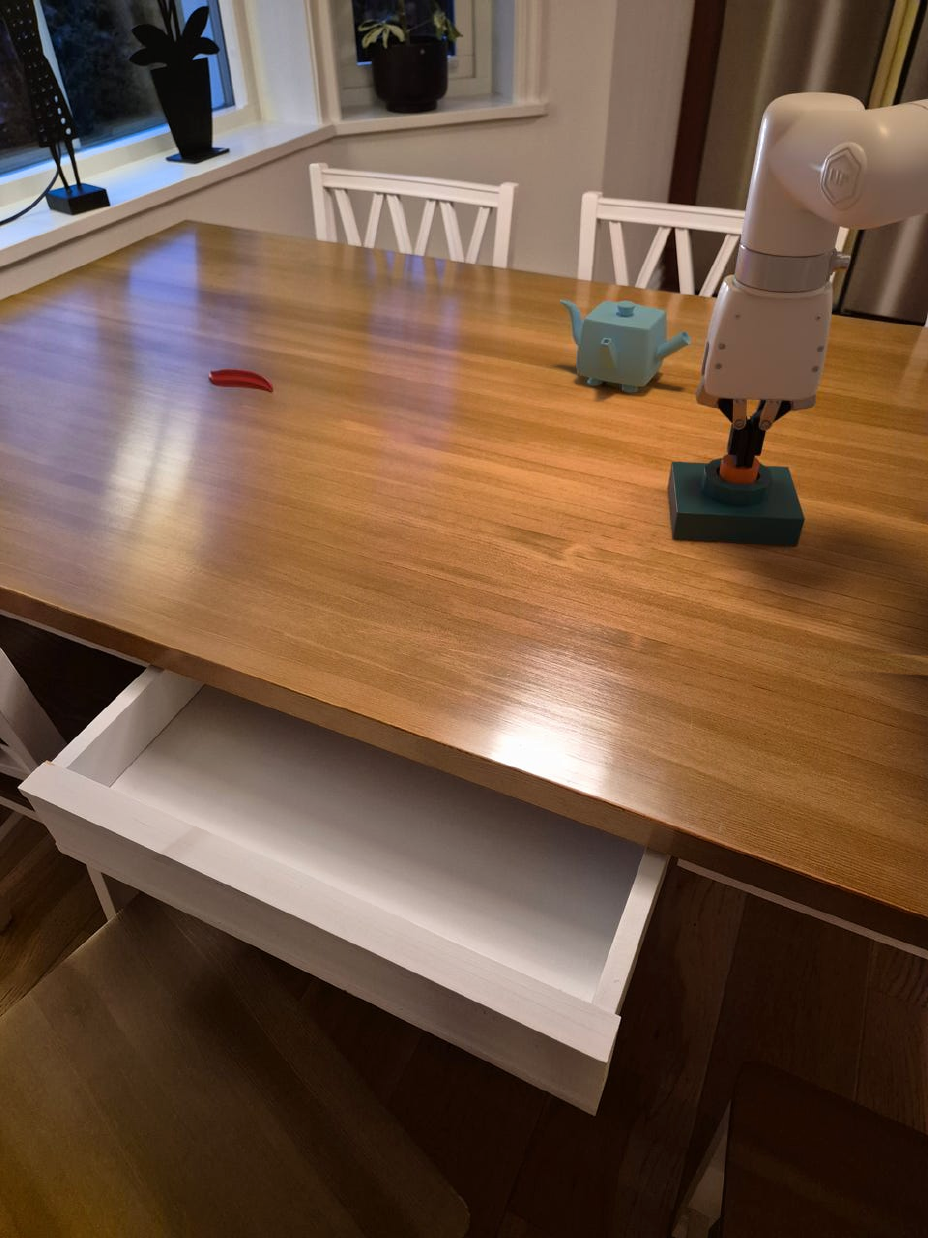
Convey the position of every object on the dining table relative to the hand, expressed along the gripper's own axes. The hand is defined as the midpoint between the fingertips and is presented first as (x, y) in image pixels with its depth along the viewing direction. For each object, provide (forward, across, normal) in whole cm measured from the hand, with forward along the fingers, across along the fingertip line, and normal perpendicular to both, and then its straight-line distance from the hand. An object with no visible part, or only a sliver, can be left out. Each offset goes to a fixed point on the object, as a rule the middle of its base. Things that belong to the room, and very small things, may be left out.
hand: (741, 460), depth 82 cm
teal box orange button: (+6, 0, 0) cm, 6 cm away
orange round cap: (+2, 0, 0) cm, 2 cm away
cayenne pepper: (+6, +63, -27) cm, 69 cm away
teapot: (+6, +12, -32) cm, 35 cm away
